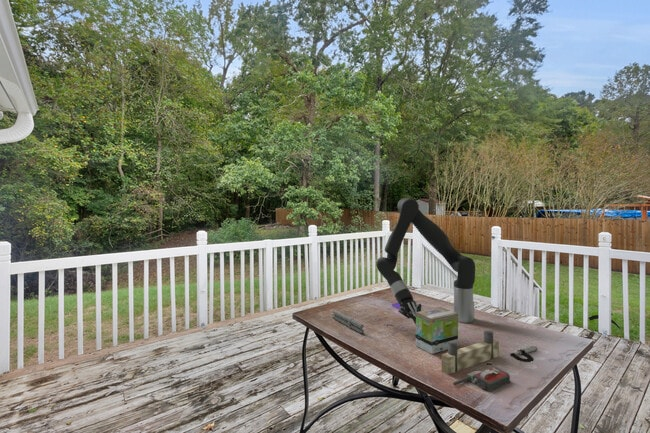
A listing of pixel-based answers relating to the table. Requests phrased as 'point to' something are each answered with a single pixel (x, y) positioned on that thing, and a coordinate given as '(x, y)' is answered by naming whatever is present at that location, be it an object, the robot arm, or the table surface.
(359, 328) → the metal rod assembly
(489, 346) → the bench stop
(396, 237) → the robot arm
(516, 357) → the micrometer
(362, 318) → the table surface
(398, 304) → the bracket
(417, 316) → the tea box
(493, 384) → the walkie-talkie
